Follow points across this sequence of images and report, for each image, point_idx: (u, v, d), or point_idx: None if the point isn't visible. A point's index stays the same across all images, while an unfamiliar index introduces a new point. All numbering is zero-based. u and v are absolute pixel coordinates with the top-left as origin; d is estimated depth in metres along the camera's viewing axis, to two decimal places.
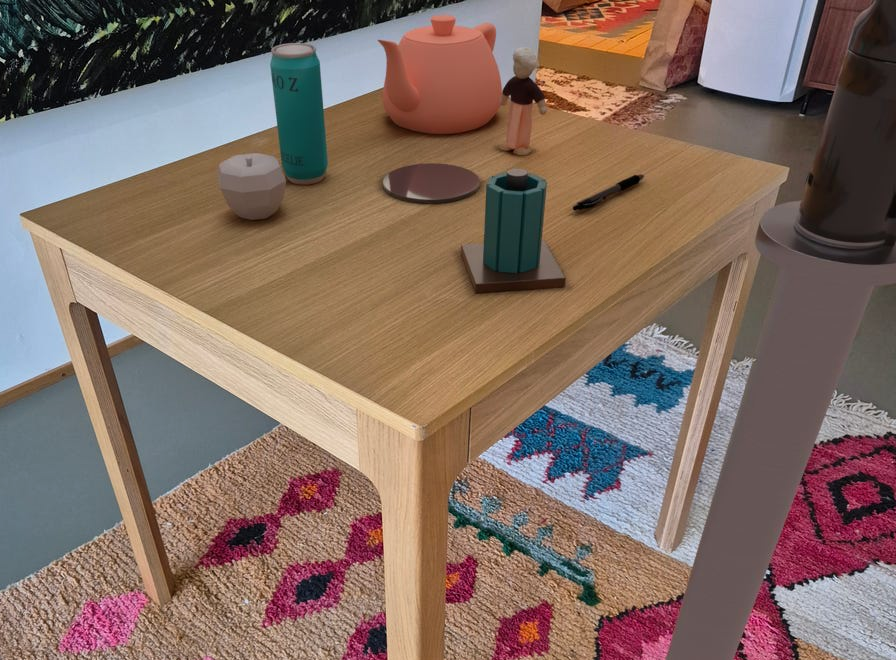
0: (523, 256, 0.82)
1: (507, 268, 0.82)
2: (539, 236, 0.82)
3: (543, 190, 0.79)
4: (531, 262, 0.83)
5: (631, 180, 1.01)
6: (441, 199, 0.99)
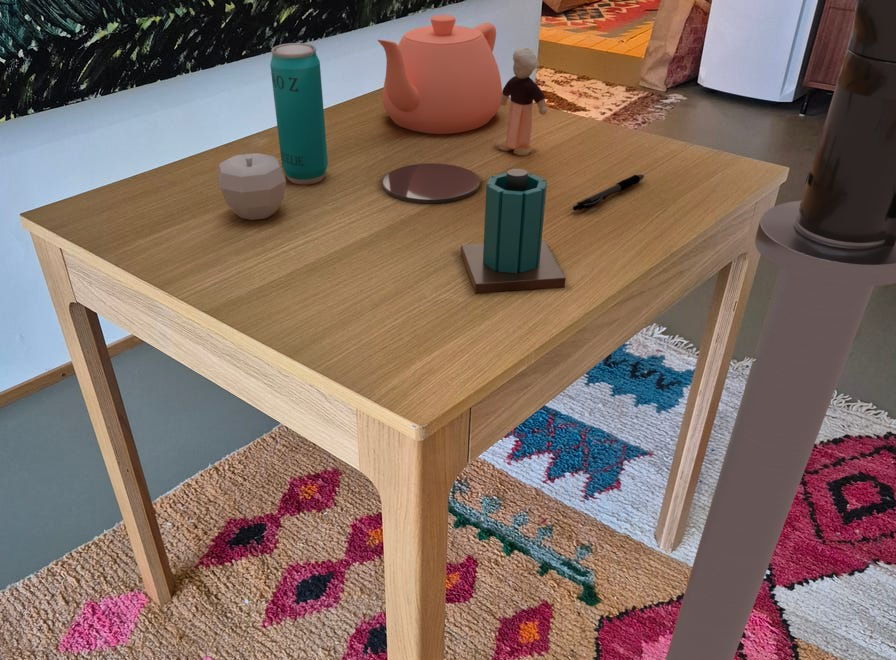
0: (523, 256, 0.82)
1: (507, 268, 0.82)
2: (539, 236, 0.82)
3: (543, 190, 0.79)
4: (531, 262, 0.83)
5: (631, 180, 1.01)
6: (441, 199, 0.99)
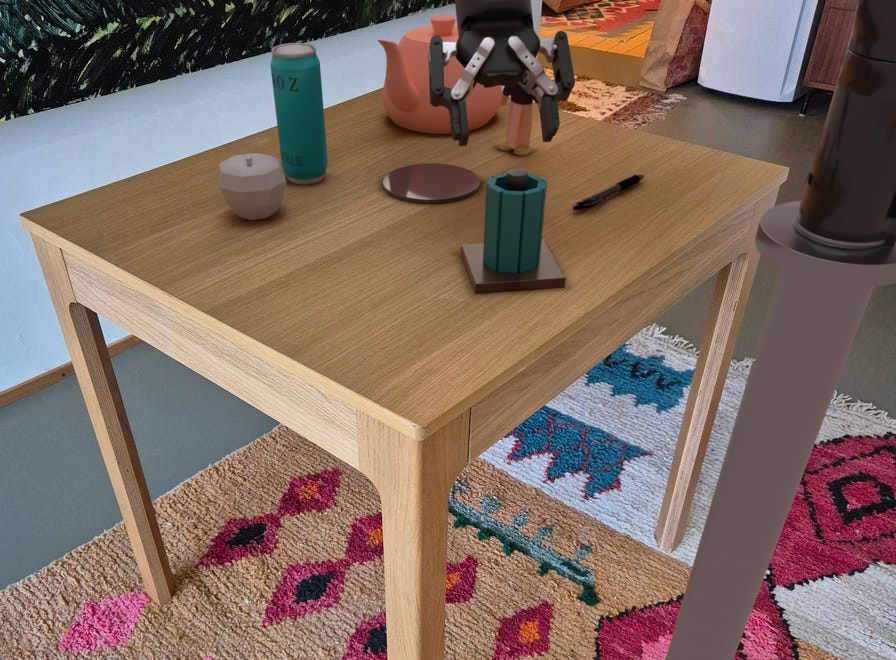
0: (523, 256, 0.82)
1: (507, 268, 0.82)
2: (539, 236, 0.82)
3: (543, 190, 0.79)
4: (531, 262, 0.83)
5: (631, 180, 1.01)
6: (441, 199, 0.99)
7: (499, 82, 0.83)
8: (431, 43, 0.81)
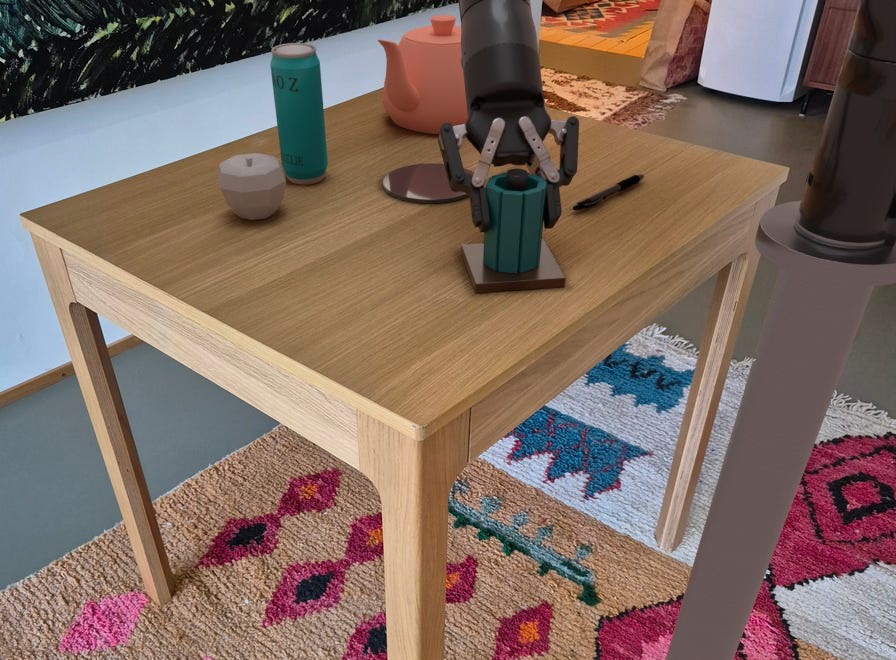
0: (523, 256, 0.82)
1: (507, 268, 0.82)
2: (539, 236, 0.82)
3: (543, 190, 0.79)
4: (531, 262, 0.83)
5: (631, 180, 1.01)
6: (441, 199, 0.99)
7: (509, 161, 0.82)
8: (442, 131, 0.80)
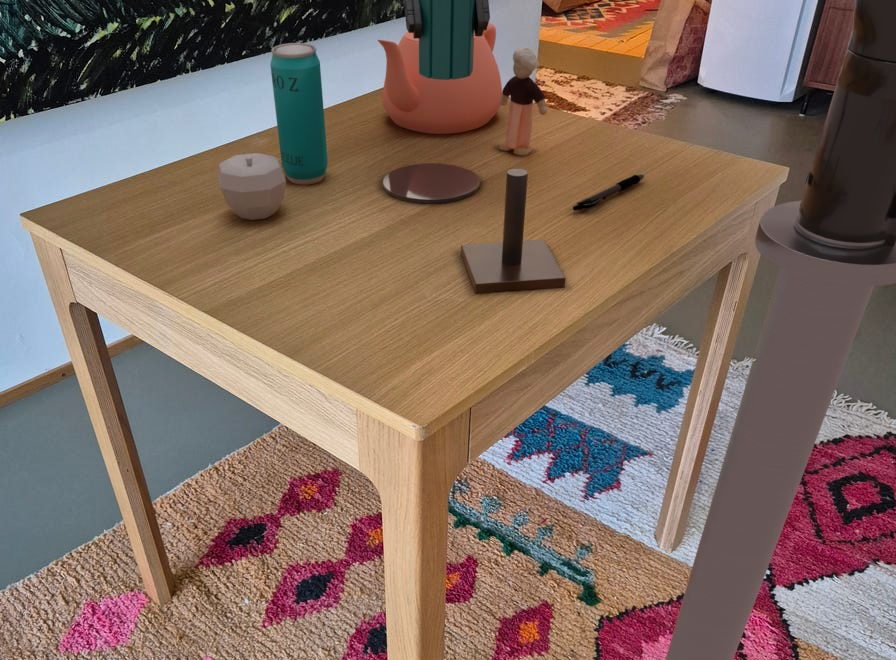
0: (455, 61, 0.87)
1: (440, 75, 0.88)
2: (469, 43, 0.87)
3: None
4: (463, 69, 0.88)
5: (631, 180, 1.01)
6: (441, 199, 0.99)
7: None
8: None
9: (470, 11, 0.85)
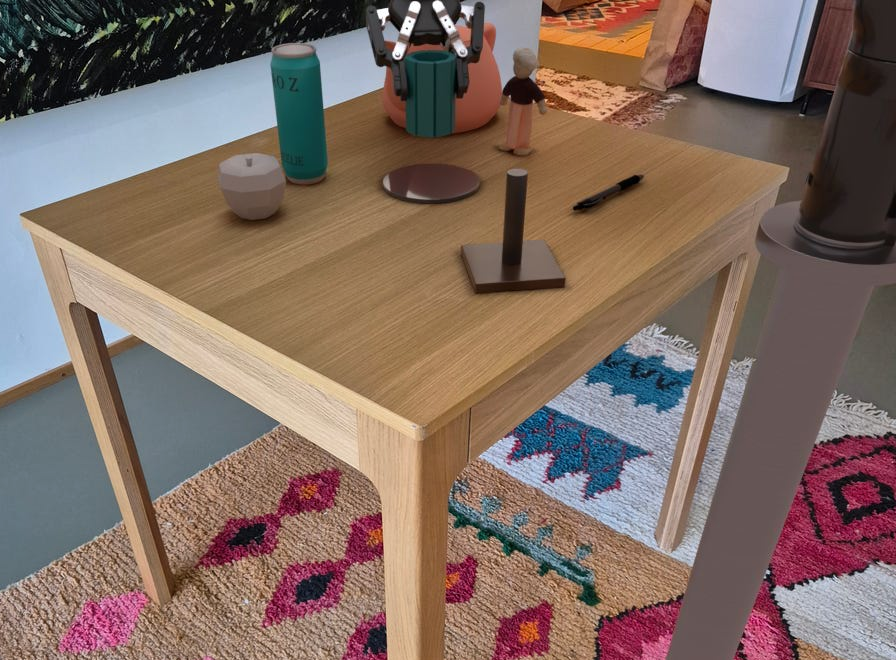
0: (438, 121, 0.96)
1: (425, 133, 0.97)
2: (451, 104, 0.96)
3: (452, 61, 0.93)
4: (445, 128, 0.97)
5: (631, 180, 1.01)
6: (441, 199, 0.99)
7: (426, 41, 0.96)
8: (367, 13, 0.94)
9: (451, 77, 0.94)
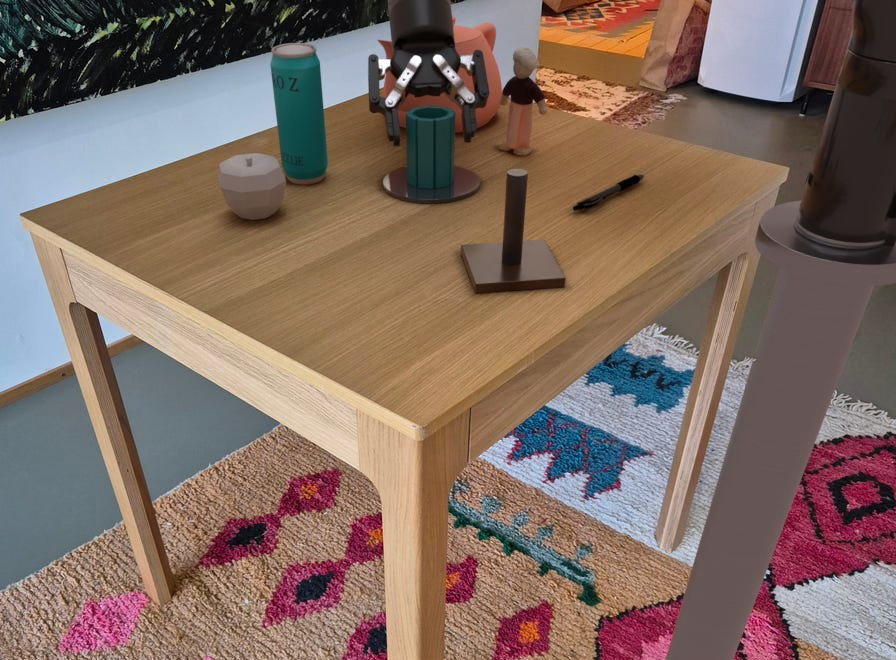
0: (438, 174, 1.00)
1: (425, 185, 1.01)
2: (450, 158, 1.00)
3: (451, 118, 0.97)
4: (445, 180, 1.01)
5: (631, 180, 1.01)
6: (441, 199, 0.99)
7: (427, 92, 1.00)
8: (369, 60, 0.98)
9: (450, 132, 0.98)
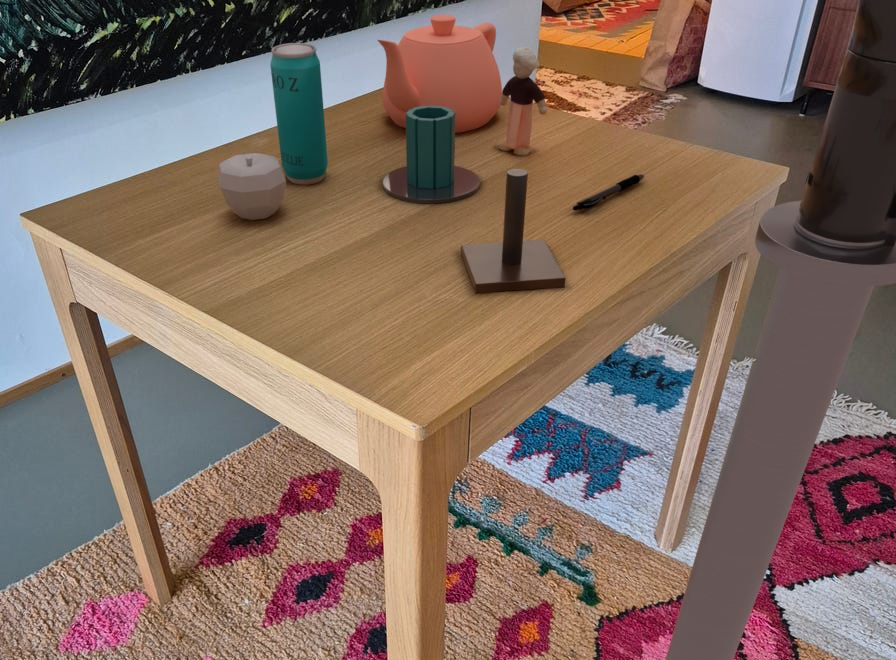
0: (438, 174, 1.00)
1: (425, 185, 1.01)
2: (450, 158, 1.00)
3: (451, 118, 0.97)
4: (445, 180, 1.01)
5: (631, 180, 1.01)
6: (441, 199, 0.99)
7: None
8: None
9: (450, 132, 0.98)
